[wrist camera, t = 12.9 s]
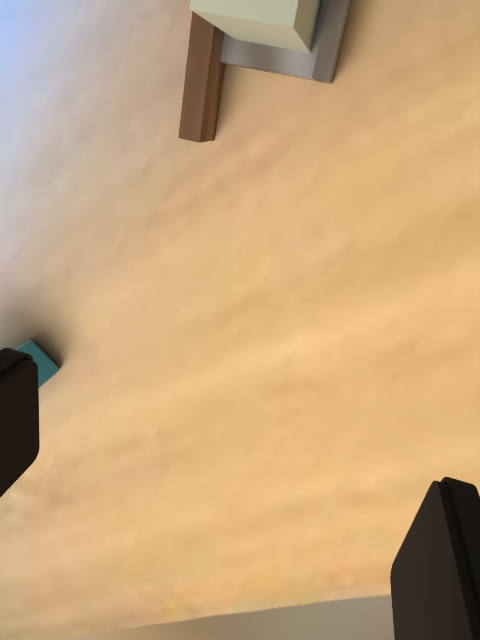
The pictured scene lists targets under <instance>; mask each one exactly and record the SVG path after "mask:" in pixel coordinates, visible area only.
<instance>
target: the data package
mask: <svg viewBox="0 0 480 640" xmlns="http://www.w3.org/2000/svg"><path fill="white" fill-rule="evenodd" d="M14 350H18V351H21V352H24V353H28V354H30V355H31V356H32V357H33V362H36V363H37V365H38V388H39V387H40V386H42V385H43V384H44V383H45V382H46V381H47V380H49V379H50V378H51V377H52V376H53V375H55V374H56V373H57V372H58V371H59V368H58V367H57V366H56V365H55V364H54V363H53V362H52V361H51V359H50V358H49V357H48V356H47V355H46V354H45V353H44V352H43V351H42V350H41V349H40V348H39V347H38V346H37V345H36V344H35V343H34V342H33V341H32V340H27V341H26V342H24V343H23V344H21V345H20V346H18V347H17V348H15V349H14Z"/></svg>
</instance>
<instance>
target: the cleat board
mask: <svg viewBox="0 0 480 640" xmlns="http://www.w3.org/2000/svg"><path fill="white" fill-rule="evenodd" d="M351 1H352V0H322V4H321V9H320V14H319V18H318V23H317V27H316V32H315V37H314V41H313V46H312V51H311V53H307V52H301V51H296V50H291V49H285V48H280V47H274V46H269V45H264V44H258V43H253V42H247V41H242V40H237V39H234V38H233V37H231V36H230V35H228V34H227V33H225V32H224V31H222V30H220V29H219V28H217V27H216V26H214V25H213V24H211V23H210V22H208V21H207V20H205V19H204V18H202V17H201V16H199V15H198V14H196V13H195V12H192V21H191V30H190V39H189V48H188V57H187V66H186V75H185V84H184V93H183V102H182V111H181V120H180V129H179V138H181V139H185V140H190V141H195V142H206V141H213V140H214V139H215V132H216V125H217V118H218V111H219V104H220V97H221V90H222V83H223V76H224V69H225V64H230V65H235V66H240V67H245V68H251V69H256V70H261V71H267V72H272V73H277V74H283V75H288V76H293V77H298V78H304V79H309V80H314V81H320V82H325V83H330V84H332V81H333V77H334V73H335V69H336V64H337V60H338V56H339V52H340V47H341V43H342V39H343V35H344V30H345V26H346V22H347V18H348V13H349V9H350V5H351Z"/></svg>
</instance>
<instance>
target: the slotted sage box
mask: <svg viewBox="0 0 480 640" xmlns="http://www.w3.org/2000/svg"><path fill="white" fill-rule="evenodd" d="M321 4H322V0H191V1H190V10H192V11H193V12H195V13H196V14H198V15H199V16H201V17H202V18H204V19H205V20H207V21H208V22H210V23H211V24H213V25H214V26H216V27H217V28H219V29H220V30H222V31H224V32H225V33H227V34H228V35H230V36H231V37H233V38H234V39H237V40H242V41H247V42H253V43H258V44H264V45H269V46H274V47H280V48H285V49H291V50H296V51H301V52H307V53H311V51H312V46H313V41H314V37H315V32H316V27H317V23H318V18H319V14H320V9H321Z"/></svg>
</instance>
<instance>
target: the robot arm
mask: <svg viewBox="0 0 480 640" xmlns="http://www.w3.org/2000/svg"><path fill="white" fill-rule="evenodd" d="M38 452H39V394H38V365H37V363H36V362H33V357H32V356H31V355H30V354H28V353H24V352H21V351H18V350H14V349H11V348H5V349H2V350H1V351H0V497H1V496H2V495H3V494H4V493H5V492H6V491H7V490H8V489H9V488H10V487H11V486H12V484H13V483H14V482H15V481H16V480H17V479H18V478H19V477H20V476H21V475H22V474H23V473H24V472H25V471H26V470H27V469H28V468H29V466H30V465H31V464H32V463H33V462H34V461H35V459H36V457H37V455H38ZM390 581H391V595H392V608H393V623H394V635H395V640H480V497H479V494H478V491H477V488H476V486H474V485H473V484H470V483H466V482H463V481H460V480H456V479H453V478H449V477H444V478H443V479H442V481H441V482H439V481H433V482H432V484H431V486H430V488H429V490H428V492H427V494H426V496H425V498H424V500H423V502H422V504H421V506H420V508H419V510H418V512H417V514H416V516H415V519H414V521H413V523H412V525H411V527H410V529H409V531H408V533H407V535H406V537H405V539H404V541H403V543H402V545H401V547H400V549H399V552H398V554H397V556H396V558H395V560H394V562H393V565H392V569H391V577H390Z"/></svg>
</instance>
